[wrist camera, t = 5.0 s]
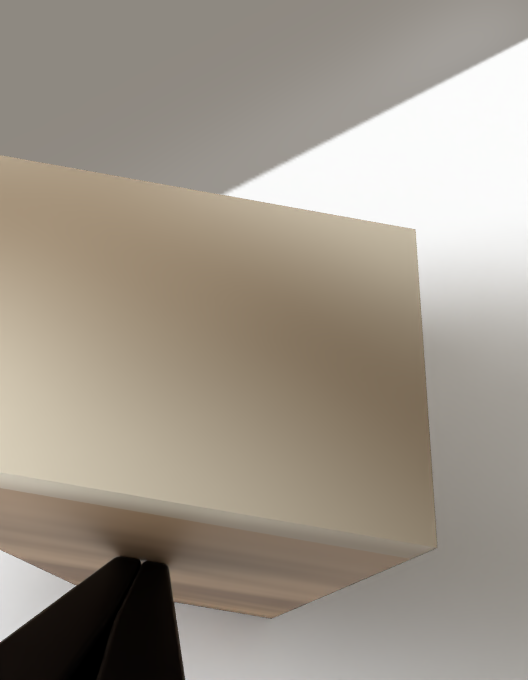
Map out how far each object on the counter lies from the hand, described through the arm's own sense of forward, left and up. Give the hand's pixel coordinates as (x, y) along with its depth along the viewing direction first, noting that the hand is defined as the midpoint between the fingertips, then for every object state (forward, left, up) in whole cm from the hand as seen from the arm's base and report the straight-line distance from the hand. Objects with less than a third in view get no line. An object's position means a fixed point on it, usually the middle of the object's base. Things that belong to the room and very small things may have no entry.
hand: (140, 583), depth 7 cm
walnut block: (+2, +1, -8) cm, 8 cm away
